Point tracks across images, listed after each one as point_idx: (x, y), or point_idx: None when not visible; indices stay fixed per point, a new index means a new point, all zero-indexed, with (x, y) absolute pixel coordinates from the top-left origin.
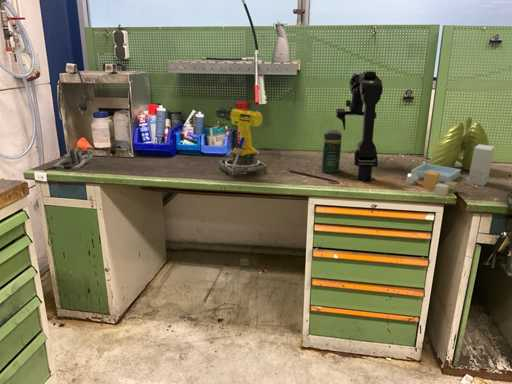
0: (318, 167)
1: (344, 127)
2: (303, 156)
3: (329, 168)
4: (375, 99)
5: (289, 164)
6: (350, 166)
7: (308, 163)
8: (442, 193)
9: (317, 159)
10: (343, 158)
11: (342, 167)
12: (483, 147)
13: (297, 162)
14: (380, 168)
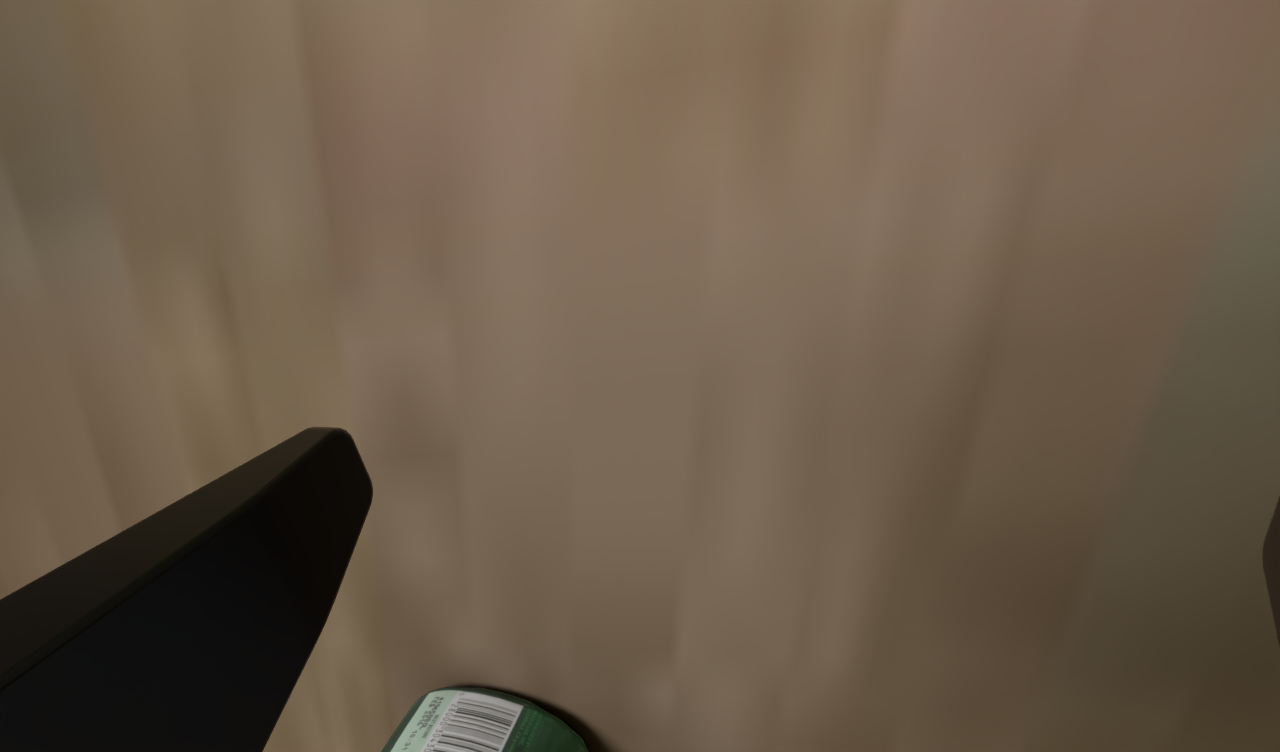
0: (369, 638)
1: (289, 637)
2: (59, 30)
3: None
4: None
5: (56, 515)
6: (779, 601)
7: (227, 461)
8: None
9: (290, 214)
10: (717, 52)
11: (658, 647)
12: None
13: (100, 419)
14: (1276, 718)
